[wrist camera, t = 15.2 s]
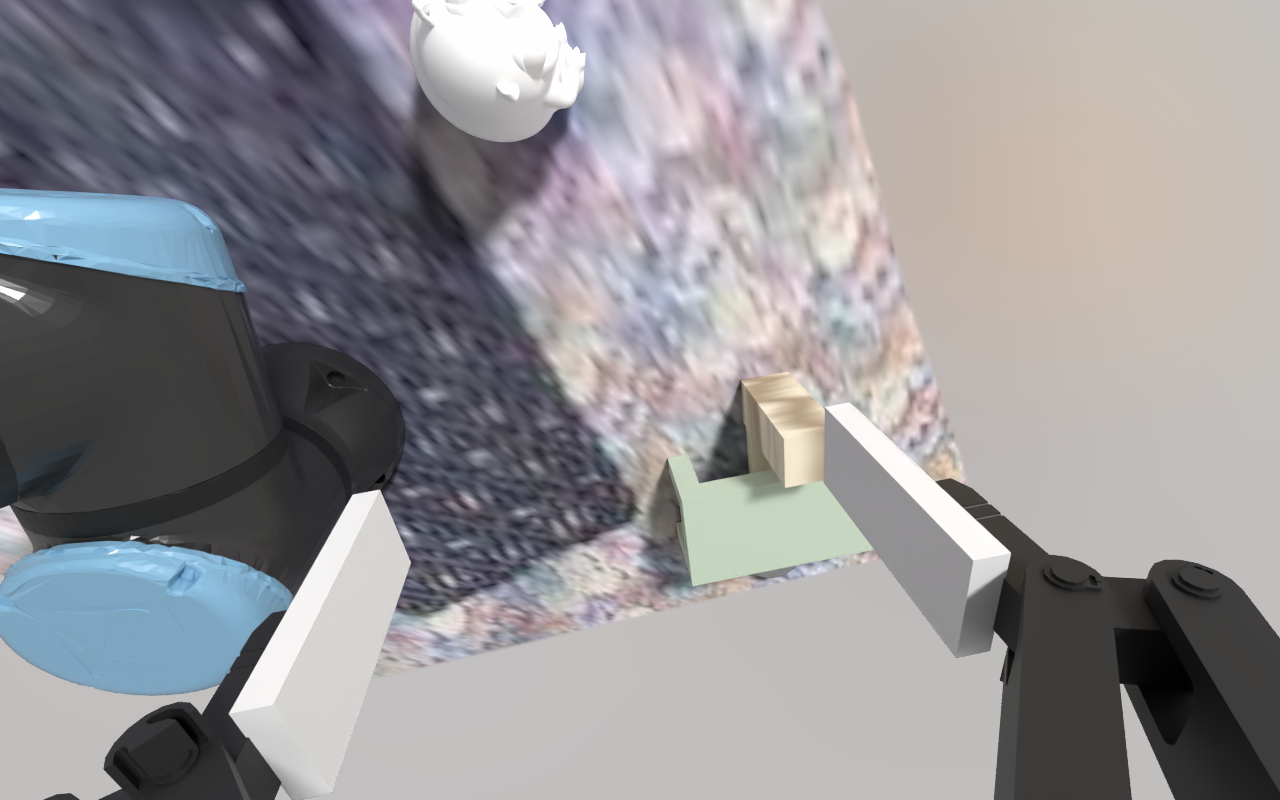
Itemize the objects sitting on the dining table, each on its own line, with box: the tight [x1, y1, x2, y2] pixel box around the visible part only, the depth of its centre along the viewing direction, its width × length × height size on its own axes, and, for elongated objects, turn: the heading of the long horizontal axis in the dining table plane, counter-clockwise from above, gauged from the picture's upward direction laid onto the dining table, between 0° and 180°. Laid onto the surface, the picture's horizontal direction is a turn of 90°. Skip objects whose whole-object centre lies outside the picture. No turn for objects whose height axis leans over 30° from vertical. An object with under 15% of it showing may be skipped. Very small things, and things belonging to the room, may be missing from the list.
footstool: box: [668, 454, 874, 586], centre depth 54 cm, size 18×10×7 cm, turn 98°
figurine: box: [410, 0, 586, 142], centre depth 33 cm, size 10×10×12 cm
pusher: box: [741, 372, 825, 488], centre depth 51 cm, size 4×18×11 cm, turn 8°
